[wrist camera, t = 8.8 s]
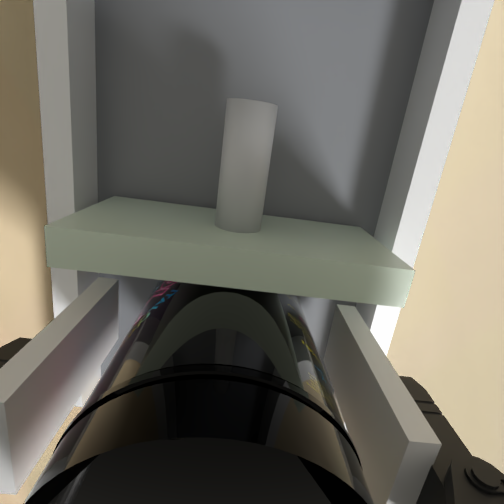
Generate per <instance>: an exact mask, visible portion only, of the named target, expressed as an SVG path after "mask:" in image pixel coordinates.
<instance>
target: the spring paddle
mask: <svg viewBox="0 0 504 504" xmlns="http://www.w3.org/2000/svg"><path fill="white" fill-rule="evenodd" d="M277 110H278V106H277V105H275V104H271V103H267V102H262V101H256V100H249V99H240V98H228V99H227V104H226V114H225V125H224V135H223V145H222V156H221V166H220V176H219V186H218V197H217V207H216V209H214V208H206V207H198V206H190V205H182V204H174V203H166V202H158V201H150V200H142V199H134V198H127V197H119V196H113V197H111V198H108V199H106V200H104V201H101V202H99V203H97V204H94V205H92V206H90V207H87V208H85V209H82V210H80V211H78V212H75V213H73V214H71V215H68V216H66V217H64V218H61V219H59V220H57V221H54V222H52V223H50V224H47V225H45V226H44V232H45V246H46V261H47V267H52V268H61V269H70V270H79V271H87V272H96V273H105V274H113V275H122V276H131V277H140V278H148V279H157V280H166V281H174V282H183V283H192V284H201V285H209V286H218V287H227V288H235V289H244V290H253V291H262V292H270V293H279V294H288V295H296V296H305V297H314V298H323V299H331V300H340V301H349V302H357V303H366V304H375V305H384V306H392V307H401V308H404V306H405V303H406V300H407V297H408V293H409V290H410V287H411V284H412V280H413V277H414V274H415V270H414V269H413V268H411V267H410V266H409V265H408V264H406V263H405V262H404V261H403V260H401V259H400V258H399V257H398V256H396V255H395V254H394V253H393V252H391V251H390V250H389V249H387V248H386V247H385V246H384V245H382V244H381V243H380V242H379V241H377V240H376V239H375V238H374V237H372V236H371V235H370V234H369V233H367V232H366V231H365V230H364V229H362V228H361V227H356V226H348V225H340V224H332V223H325V222H317V221H309V220H301V219H293V218H285V217H277V216H269V215H263V208H264V201H265V194H266V187H267V180H268V173H269V166H270V159H271V152H272V145H273V138H274V131H275V124H276V117H277Z"/></svg>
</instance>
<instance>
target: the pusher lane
mask: <svg viewBox="0 0 504 504" xmlns="http://www.w3.org/2000/svg"><path fill="white" fill-rule="evenodd" d="M493 4H494V0H33V8H34V23H35V38H36V53H37V69H38V84H39V99H40V114H41V129H42V144H43V159H44V174H45V189H46V205H47V220H48V224H50V223H52V222H54V221H57V220H59V219H61V218H64V217H66V216H68V215H71V214H73V213H75V212H78V211H80V210H82V209H85V208H87V207H90V206H92V205H94V204H97V203H99V202H101V201H104V200H106V199H108V198H111V197H113V196H119V197H127V198H134V199H142V200H150V201H158V202H166V203H174V204H182V205H190V206H198V207H206V208H214V209H216V207H217V197H218V186H219V176H220V166H221V156H222V145H223V135H224V125H225V114H226V104H227V99H228V98H240V99H249V100H256V101H262V102H267V103H271V104H275V105H277V106H278V110H277V117H276V124H275V131H274V138H273V145H272V152H271V159H270V166H269V173H268V180H267V187H266V194H265V201H264V208H263V215H269V216H277V217H285V218H293V219H301V220H309V221H317V222H325V223H332V224H340V225H348V226H356V227H361V228H362V229H364V230H365V231H366V232H367V233H369V234H370V235H371V236H372V237H374V238H375V239H376V240H377V241H379V242H380V243H381V244H382V245H384V246H385V247H386V248H387V249H389V250H390V251H391V252H393V253H394V254H395V255H396V256H398V257H399V258H400V259H401V260H403V261H404V262H405V263H406V264H408V265H409V266H410V267H411V268H413V267H414V263H415V260H416V257H417V253H418V250H419V247H420V244H421V240H422V237H423V234H424V230H425V227H426V224H427V220H428V217H429V214H430V211H431V207H432V204H433V201H434V197H435V194H436V191H437V188H438V184H439V181H440V178H441V174H442V171H443V168H444V165H445V161H446V158H447V155H448V151H449V148H450V145H451V142H452V138H453V135H454V132H455V128H456V125H457V122H458V119H459V115H460V112H461V109H462V105H463V102H464V99H465V96H466V92H467V89H468V86H469V82H470V79H471V76H472V73H473V69H474V66H475V63H476V59H477V56H478V53H479V50H480V46H481V43H482V40H483V36H484V33H485V30H486V27H487V23H488V20H489V17H490V13H491V10H492V7H493ZM99 277H103V278H111V279H119V311H118V340H117V341H116V343H115V344H114V346H113V347H112V349H111V350H110V352H109V353H108V355H107V357H106V358H105V360H104V361H103V363H102V364H101V366H100V367H99V369H98V370H97V372H96V373H95V375H94V376H93V378H92V379H91V381H90V383H89V384H88V386H87V387H86V389H85V390H84V392H83V393H82V395H81V396H80V398H79V399H78V401H77V402H76V404H75V405H74V406H76V407H83V405H84V404H85V402H86V400H87V399H88V397H89V396H90V394H91V392H92V391H93V389H94V387H95V386H96V384H97V383H98V381H99V379H100V378H101V376H102V375H103V373H104V371H105V370H106V368H107V366H108V365H109V363H110V361H111V360H112V358H113V356H114V355H115V353H116V351H117V350H118V348H119V346H120V345H121V343H122V341H123V339H124V338H125V336H126V334H127V333H128V331H129V329H130V328H131V326H132V324H133V323H134V321H135V319H136V318H137V316H138V314H139V313H140V311H141V309H142V308H143V306H144V304H145V303H146V301H147V299H148V298H149V296H150V294H151V293H152V291H153V289H154V288H155V286H156V284H157V283H158V281H159V280H157V279H148V278H140V277H131V276H122V275H113V274H105V273H96V272H87V271H79V270H70V269H61V268H52V267H51V280H52V295H53V310H54V318H56V317H57V316H58V315H59V314H60V313H61V312H62V311H63V310H64V309H65V308H66V307H67V306H69V305H70V304H71V303H72V302H73V301H74V300H75V299H76V298H77V297H78V296H79V295H80V294H82V293H83V292H84V291H85V290H86V289H87V288H88V287H89V286H90V285H91V284H92V283H93V282H94V281H96V280H97V279H98V278H99ZM298 298H299V300H300V303H301V306H302V309H303V312H304V314H305V317H306V320H307V323H308V326H309V328H310V331H311V334H312V337H313V339H314V342H315V345H316V348H317V351H318V353H319V356H320V359H321V362H322V364H323V367H324V370H325V373H326V376H327V378H328V381H329V384H330V387H331V390H332V392H333V395H334V398H335V401H336V403H337V406H338V409H339V412H340V415H341V417H342V420H343V423H344V426H345V428H346V425H345V422H344V419H343V416H342V413H341V410H340V407H339V404H338V401H337V398H336V395H335V392H334V389H333V386H332V383H331V381H330V378H329V375H328V372H327V369H326V366H325V363H324V356H325V352H326V347H327V343H328V339H329V335H330V330H331V326H332V322H333V318H334V313H335V309H336V305H337V304H339V305H348V306H355V308H356V309H357V311H358V312H359V314H360V315H361V317H362V319H363V320H364V322H365V323H366V325H367V327H368V328H369V330H370V331H371V333H372V334H373V336H374V338H375V339H376V341H377V342H378V344H379V346H380V347H381V349H382V350H383V352H384V353H385V355H387V352H388V349H389V345H390V342H391V339H392V336H393V332H394V329H395V326H396V322H397V319H398V316H399V313H400V309H401V307H392V306H384V305H375V304H366V303H357V302H349V301H340V300H331V299H323V298H314V297H305V296H298ZM346 430H347V428H346ZM347 432H348V431H347Z"/></svg>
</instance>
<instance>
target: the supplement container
mask: <svg viewBox="0 0 504 504" xmlns="http://www.w3.org/2000/svg"><path fill="white" fill-rule="evenodd" d="M23 504H374V501H373V499H372V496H371V493H370V490H369V488H368V485H367V482H366V479H365V477H364V474H363V470H362V466H361V462H360V459H359V456H358V453H357V450H356V448H355V446H354V443H353V441H352V439H351V437H350V435H349V434H348V432H347V430H346V428H345V426H344V423H343V420H342V417H341V415H340V412H339V409H338V406H337V403H336V401H335V398H334V395H333V392H332V390H331V387H330V384H329V381H328V378H327V376H326V373H325V370H324V367H323V364H322V362H321V359H320V356H319V353H318V351H317V348H316V345H315V342H314V339H313V337H312V334H311V331H310V328H309V326H308V323H307V320H306V317H305V314H304V312H303V309H302V306H301V303H300V300H299V298H298V296H296V295H288V294H279V293H270V292H262V291H253V290H244V289H235V288H227V287H218V286H209V285H201V284H192V283H183V282H174V281H166V280H159V281H158V283H157V284H156V286H155V288H154V289H153V291H152V293H151V294H150V296H149V298H148V299H147V301H146V303H145V304H144V306H143V308H142V309H141V311H140V313H139V314H138V316H137V318H136V319H135V321H134V323H133V324H132V326H131V328H130V329H129V331H128V333H127V334H126V336H125V338H124V339H123V341H122V343H121V345H120V346H119V348H118V350H117V351H116V353H115V355H114V356H113V358H112V360H111V361H110V363H109V365H108V366H107V368H106V370H105V371H104V373H103V375H102V376H101V378H100V380H99V381H98V383H97V385H96V386H95V388H94V390H93V391H92V393H91V395H90V396H89V398H88V400H87V401H86V403H85V405H84V406H83V408H82V410H81V411H80V413H79V414H77V416H76V417H75V418H74V419H73V421H72V422H71V423H70V424H69V426H68V427H67V429H66V431H65V432H64V434H63V435H62V437H61V439H60V440H59V442H58V444H57V446H56V448H55V450H54V452H53V455H52V457H51V458H50V460H49V462H48V463H47V465H46V467H45V468H44V470H43V472H42V473H41V475H40V477H39V478H38V480H37V482H36V483H35V485H34V487H33V488H32V490H31V491H30V493H29V495H28V496H27V498H26V500H25V501H24V503H23Z"/></svg>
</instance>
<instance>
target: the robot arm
mask: <svg viewBox="0 0 504 504" xmlns="http://www.w3.org/2000/svg"><path fill="white" fill-rule="evenodd" d="M118 311H119V279H111V278H103V277H99V278H98V279H97V280H96V281H94V282H93V283H92V284H91V285H90V286H89V287H88V288H87V289H86V290H85V291H84V292H83V293H82V294H80V295H79V296H78V297H77V298H76V299H75V300H74V301H73V302H72V303H71V304H70V305H69V306H67V307H66V308H65V309H64V310H63V311H62V312H61V313H60V314H59V315H58V316H57V317H56V318H54V319H53V320H52V321H51V322H50V323H49V324H48V325H47V326H46V327H45V328H44V329H43V330H42V331H40V332H39V333H38V334H37V335H36V336H35V337H34V338H33V339H28V338H18V339H16V340H14V341H12V342H10V343H8V344H6V345H4V346H2V347H1V348H0V493H2V494H14V495H16V494H17V493H18V491H19V490H20V488H21V487H22V485H23V484H24V482H25V480H26V479H27V477H28V476H29V474H30V473H31V471H32V470H33V468H34V467H35V465H36V464H37V462H38V461H39V459H40V458H41V456H42V454H43V453H44V451H45V450H46V448H47V447H48V445H49V444H50V442H51V441H52V439H53V438H54V436H55V435H56V433H57V431H58V430H59V428H60V427H61V425H62V424H63V422H64V421H65V419H66V418H67V416H68V415H69V413H70V412H71V410H72V409H73V407H74V405H75V404H76V402H77V401H78V399H79V398H80V396H81V395H82V393H83V392H84V390H85V389H86V387H87V386H88V384H89V383H90V381H91V379H92V378H93V376H94V375H95V373H96V372H97V370H98V369H99V367H100V366H101V364H102V363H103V361H104V360H105V358H106V357H107V355H108V353H109V352H110V350H111V349H112V347H113V346H114V344H115V343H116V341H117V340H118ZM324 363H325V366H326V369H327V372H328V375H329V378H330V381H331V383H332V386H333V389H334V392H335V395H336V398H337V401H338V404H339V407H340V410H341V413H342V416H343V419H344V422H345V425H346V428H347V431H348V434H349V435H350V437H351V439H352V441H353V443H354V446H355V448H356V450H357V453H358V456H359V459H360V462H361V466H362V470H363V474H364V477H365V479H366V482H367V485H368V488H369V490H370V493H371V496H372V499H373V501H374V504H504V474H503V473H501V472H500V471H499V470H498V469H496V468H495V467H494V466H493V465H491V464H489V463H488V462H486V461H484V460H482V459H480V458H478V457H474V456H472V455H471V454H470V452H469V451H468V449H467V448H466V446H465V445H464V444H463V442H462V441H461V439H460V438H459V436H458V435H457V434H456V432H455V431H454V429H453V428H452V427H451V425H450V424H449V422H448V421H447V419H446V418H445V417H444V416H442V412H441V411H440V410H439V408H438V407H437V405H435V404H434V401H433V400H432V398H431V397H430V395H429V394H428V392H427V391H426V390H425V389H424V388H423V387H422V386H421V385H420V384H419V383H417V382H416V381H415V380H414V379H413V378H411V377H404V376H398V374H397V372H396V371H395V369H394V368H393V366H392V365H391V363H390V361H389V360H388V358H387V357H386V355H385V353H384V352H383V350H382V349H381V347H380V346H379V344H378V342H377V341H376V339H375V338H374V336H373V334H372V333H371V331H370V330H369V328H368V327H367V325H366V323H365V322H364V320H363V319H362V317H361V315H360V314H359V312H358V311H357V309H356V308H355V306H348V305H339V304H337V305H336V309H335V313H334V318H333V322H332V326H331V330H330V335H329V339H328V343H327V347H326V352H325V356H324Z"/></svg>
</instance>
